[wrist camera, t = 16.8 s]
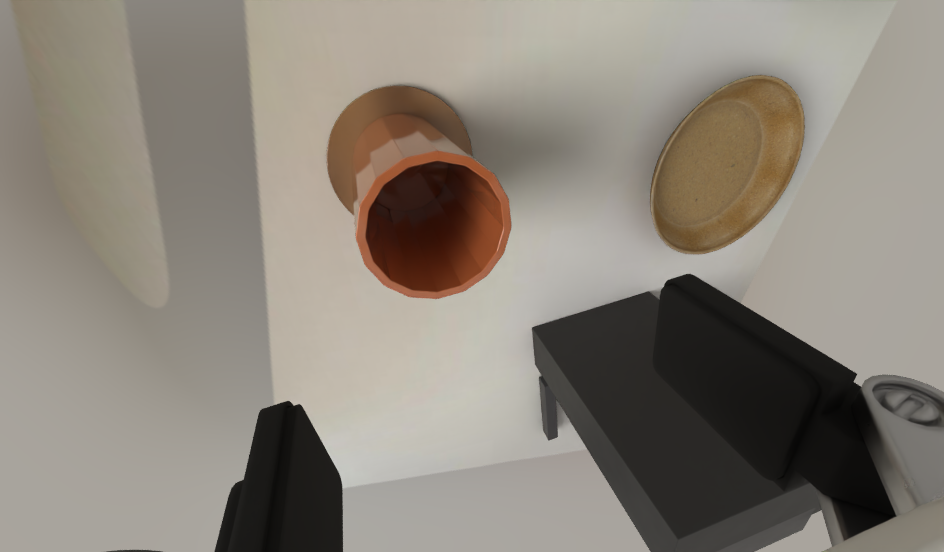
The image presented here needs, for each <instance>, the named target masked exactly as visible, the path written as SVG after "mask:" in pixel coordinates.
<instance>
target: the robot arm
mask: <svg viewBox="0 0 944 552" xmlns="http://www.w3.org/2000/svg"><path fill="white" fill-rule="evenodd" d="M653 367H654V369H655V371H656V372H657V374H658V375H659V376H660V377H661V378H662V379H663V380H664V381H665V382H666V383H667V384H668V385H669V386H670V387H671V388H672V389H673V390H674V391H675V392H676V393H678V394H679V395H680V396H681V397H682V398H683V399H684V400H685V401H686V402H687V403H688V404H689V405H690V406H691V407H692V408H693V409H694V410H695V411H696V412H697V413H698V414H699V415H700V416H701V417H702V418H703V419H704V420H705V421H706V422H707V423H708V424H709V425H710V426H711V427H712V428H713V429H714V430H715V431H716V432H717V433H718V434H719V435H720V436H721V437H722V438H723V439H724V440H725V441H726V442H727V443H728V444H729V445H730V446H731V447H733V448H734V449H735V450H736V451H737V452H738V453H739V454H740V455H741V456H742V457H743V458H744V459H745V460H746V461H747V462H748V463H749V464H750V465H751V466H752V467H753V468H754V469H755V470H756V471H757V472H758V473H759V474H760V475H761V476H763V477H764V478H766V479H767V480H772V481H773V482H774V483H776V484H777V485H778V486H779V487H780V488H781V489H782V490H783V491H784V492H785V491H787V490H789V489H792V488H794V487H796V486H798V485H800V484H803V483H804V481H805V479H806V480H807V481H809V482H810V483H811V484H812V485H813V486H814V487H815V488H816V492H817V495H818V499H819V502H820V506H821V509H822V513H823V516H824V519H825V523H826V527H827V530H828V534H829V537H830V541H831V544H832V547H831V548H829V549H827V550H825V551H823V552H944V392H942V391H940V390H938V389H936V388H934V387H932V386H930V385H928V384H925V383H923V382H920V381H917V380H914V379H910V378H906V377H901V376H896V375H878V376H872V377H870V378H868V379H867V380H865V381H864V383H863V385H862V387H861V386H859V385H857V384H856V383H854V380H855V378H856V375H857V374H856V373H855V372H853V371H851V370H850V369H848V368H847V367H845V366H843V365H842V364H840V363H838V362H836V361H835V360H833V359H832V358H830V357H828V356H827V355H825V354H823V353H822V352H820V351H818V350H817V349H815V348H813V347H811V346H810V345H808V344H807V343H805V342H803V341H802V340H800V339H798V338H797V337H795V336H793V335H792V334H790V333H789V332H787V331H785V330H784V329H782V328H780V327H778V326H777V325H775V324H774V323H772V322H770V321H769V320H767V319H765V318H764V317H762V316H760V315H759V314H757V313H755V312H754V311H752V310H750V309H749V308H747V307H745V306H744V305H742V304H740V303H739V302H737V301H736V300H734V299H732V298H731V297H729V296H727V295H726V294H724V293H722V292H721V291H719V290H717V289H716V288H714V287H712V286H711V285H709V284H707V283H706V282H704V281H702V280H701V279H699V278H697V277H696V276H694V275H692V274H686V275H682V276H679V277H676V278H673V279H670V280H668V281H666V283H665V285H664V287H663V288H662V289H661V293H660V301H659V310H658V318H657V327H656V335H655V344H654V352H653ZM342 508H343V506H342V482H341V478H340V475H339V473H338V471H337V469H336V467H335V465H334V463H333V462H332V460H331V458H330V456H329V454H328V452H327V451H326V449H325V447H324V445H323V443H322V442H321V440H320V438H319V436H318V434H317V432H316V431H315V429H314V427H313V425H312V423H311V422H310V420H309V418H308V416H307V414H306V412H305V411H304V409H303V407H302V406H301V405H300V404H298V405H295V406H293V404H292V403H291V402H290V401H286V402H283V403H280V404H277V405H273V406H270V407H267V408H264V409H262V410H261V411H260V412H259V415H258V419H257V424H256V429H255V433H254V437H253V442H252V446H251V451H250V455H249V459H248V463H247V468H246V472H245V477H244V480H242V481H239V482H237V483H236V484H235V485H234V486H233V487H232V489H231V492H230V494H229V497H228V501H227V505H226V509H225V513H224V517H223V521H222V525H221V529H220V533H219V537H218V540H217V544H216V548H215V552H343V516H342V515H343V509H342Z"/></svg>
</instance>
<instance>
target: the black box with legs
mask: <svg viewBox="0 0 944 552" xmlns="http://www.w3.org/2000/svg"><path fill="white" fill-rule="evenodd" d="M659 301H660V300H659V299H658V298H656V297H655V296H654V295H652V294H651V293H650V292H646V293H643V294H640V295H636V296H633V297H630V298H627V299H623V300H620V301H617V302H614V303H610V304H607V305H604V306H601V307H598V308H594V309H591V310H588V311H585V312H581V313H578V314H575V315H572V316H568V317H565V318H562V319H559V320H556V321H552V322H549V323H546V324H543V325H539V326H536V327H533V328H532V332H533V344H534V356H535V365H536V367H537V368H538V370H539V371H540V373H541V375H542V377H539V383H540V396H541V408H542V421H543V431H544V433H545V435H546V437H547V438H548V440H551V439H554V438H557V437H558V431H557V411H556V399H557V401H558V402H559V404H560V405H561V407H562V409H563V410H564V412H565V414H566V415H567V417H568V418H569V420H570V422H571V423H572V425H573V426H574V428H575V430H576V431H577V433H578V435H579V436H580V438H581V439H582V441H583V443H584V444H585V446H586V448H587V449H588V450H589V452H590V454H591V456H592V457H593V459H594V461H595V462H596V464H597V465H598V467H599V469H600V470H601V472H602V473H603V475H604V476H605V478H606V480H607V481H608V483H609V485H610V486H611V488H612V490H613V491H614V493H615V495H616V496H617V498H618V499H619V501H620V503H621V504H622V506H623V507H624V509H625V511H626V512H627V514H628V516H629V517H630V519H631V520H632V522H633V524H634V525H635V527H636V529H637V530H638V532H639V533H640V535H641V537H642V538H643V540H644V542H645V543H646V545H647V546H648V548H649V550H650V551H651V552H754V551H757V550H759V549H761V548H763V547H766V546H768V545H770V544H772V543H774V542H776V541H779V540H781V539H783V538H785V537H788V536H790V535H792V534H794V533H796V532H798V531H801V530H803V528H804V526H805V525H806V523H807V521H808V520H809V518H810V516H811V515H812V514H814V513H816V512H818V511H820V510H822V509H821V506H820V502H819V499H818V495H817V492H816V488H815V487H814V486H813V485H812V484H811V483H810V482H809V481H807V480H806V479H805V481H804V483H803V484H800V485H798V486H796V487H794V488H792V489H789V490H787V491H785V492H784V491H783V490H782V489H781V488H780V487H779V486H778V485H777V484H776V483H774V482H773V481H772V480H767V479H766V478H764V477H763V476H761V475H760V474H759V473H758V472H757V471H756V470H755V469H754V468H753V467H752V466H751V465H750V464H749V463H748V462H747V461H746V460H745V459H744V458H743V457H742V456H741V455H740V454H739V453H738V452H737V451H736V450H735V449H734V448H733V447H731V446H730V445H729V444H728V443H727V442H726V441H725V440H724V439H723V438H722V437H721V436H720V435H719V434H718V433H717V432H716V431H715V430H714V429H713V428H712V427H711V426H710V425H709V424H708V423H707V422H706V421H705V420H704V419H703V418H702V417H701V416H700V415H699V414H698V413H697V412H696V411H695V410H694V409H693V408H692V407H691V406H690V405H689V404H688V403H687V402H686V401H685V400H684V399H683V398H682V397H681V396H680V395H679V394H678V393H676V392H675V391H674V390H673V389H672V388H671V387H670V386H669V385H668V384H667V383H666V382H665V381H664V380H663V379H662V378H661V377H660V376H659V375H658V374H657V372H656V371H655V369H654V367H653V352H654V344H655V335H656V327H657V318H658V310H659Z"/></svg>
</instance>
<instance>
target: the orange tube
mask: <svg viewBox="0 0 944 552" xmlns="http://www.w3.org/2000/svg"><path fill="white" fill-rule="evenodd" d="M351 175H352V190H353V204H354V219H355V234H356V240H357V243H358V246H359V249H360V252H361V255H362V258H363V261H364V264H365V265H366V267H367V268H368V269H369V270H370V271H371V272H372V273H373V274H374V275H375V276H376V277H377V279H378V280H379V281H380V282H381V283H382V284H383V285H385V286H386V287H388V288H390V289H393V290H395V291H397V292H399V293H402V294H404V295H406V296H408V297H415V298H432V299H437V298H438V299H439V298H442V297H446V296H450V295H453V294H457V293H460V292H464V291H466V290H467V289H468V288H470V287H471V286H473V285H474V284H476V283H477V282H479V281H480V280H482V279H483V278H484V277H486V276H487V275H488V274H489V273H490V271H491V270H492V269H493V267H494V266H495V265H496V263H497V262H498V261H499V259H500V258H501V256H502V255H503V253H504V251H505V248H506V244H507V241H508V237H509V234H510V230H511V216H510V207H509V199H508V197H507V195H506V193H505V192H504V190H503V188H502V186H501V185H500V183H499V181H498V179H497V178H496V176H495V175H494V173H492V172H491V171H490V170H489V169H487V168H486V167H485V166H484V165H482V164H481V163H480V162H479V161H477V160H476V159H475V158H474V157H472V156H471V155H470V154H469V153H467V152H466V151H465V150H464V149H462V148H461V147H460V146H459V145H457V144H456V143H455V142H454V141H452V140H451V139H450V138H449V137H447V136H446V135H445V134H444V133H442V132H441V131H440V130H438V129H437V128H436V127H434V126H433V125H432V124H430V123H429V122H427V121H426V120H425V119H423V118H420V117H417V116H414V115H409V114H391V115H387V116H384V117H381V118H379V119H377V120H375V121H374V122H372V123H371V124H370V125H369V126H367V127H366V128H365V129H364V131H363V132H362V133H361V134H360V136H359V137H358V139H357V141H356V143H355V146H354V148H353V154H352V165H351Z"/></svg>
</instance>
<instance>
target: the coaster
mask: <svg viewBox="0 0 944 552" xmlns="http://www.w3.org/2000/svg"><path fill="white" fill-rule="evenodd" d="M391 114H409V115H414V116H417V117H420V118H423V119H425V120H426V121H427V122H429V123H430V124H432V125H433V126H434V127H436V128H437V129H438V130H440V131H441V132H442V133H444V134H445V135H446V136H447V137H449V138H450V139H451V140H452V141H454V142H455V143H456V144H457V145H459V146H460V147H461V148H462V149H464V150H465V151H466V152H467V153H469V154H470V155H471V156H472V148H471V144H470V140H469V137H468V134H467V131H466V129H465V127H464V125H463V123H462V122H461V120H460V119H459V117H458V116H457V115H456V113H455V112H454V111H453V110H452V109H451V108H450V107H449V106H448V105H447V104H446V103H445V102H443V101H442V100H440V99H439V98H437V97H436V96H434V95H432V94H430V93H428V92H426V91H424V90H421V89H418V88H414V87H408V86H386V87H381V88H378V89H374V90H372V91H369V92H367V93H365V94H363V95H361V96H360V97H358V98H357V99H355V100H354V101H353V102H352V103H350V104H349V105H348V106H347V107H346V108H345V110H344V111H343V112H342V113H341V114H340V116H339V117H338V119H337V121H336V122H335V124H334V127H333V129H332V131H331V134H330V137H329V141H328V147H327V168H328V174H329V178H330V181H331V184H332V186H333V189H334V191H335V193H336V195H337V196H338V198H339V200H340V201H341V202H342V204H343V205H344V206H345V207H346V208H347V209H348V210H349V211H350V212H351V213H352V214H353V215H354V204H353V190H352V175H351V165H352V154H353V148H354V146H355V143H356V141H357V139H358V137H359V136H360V134H361V133H362V132H363V131H364V129H365V128H366V127H367V126H369V125H370V124H371V123H372V122H374V121H375V120H377V119H379V118H381V117H384V116H387V115H391Z"/></svg>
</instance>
